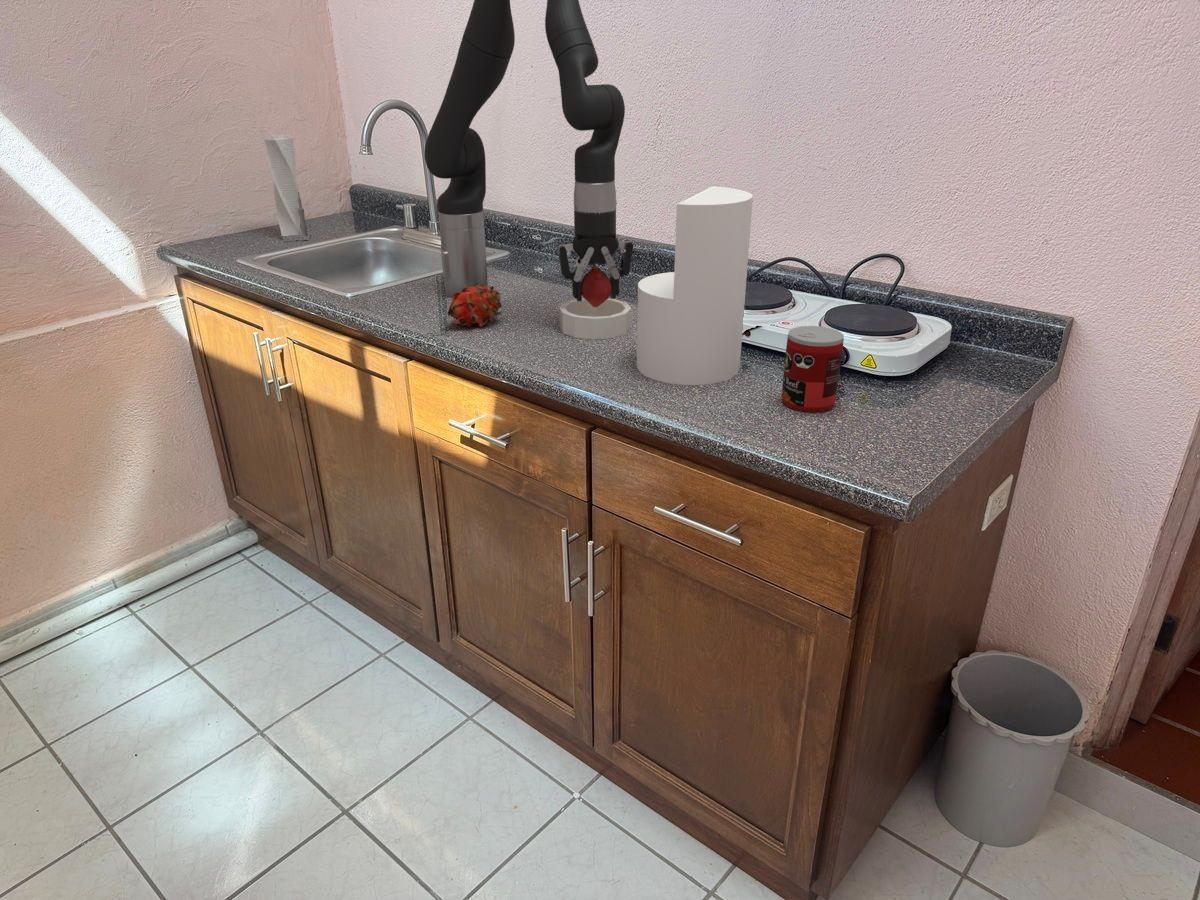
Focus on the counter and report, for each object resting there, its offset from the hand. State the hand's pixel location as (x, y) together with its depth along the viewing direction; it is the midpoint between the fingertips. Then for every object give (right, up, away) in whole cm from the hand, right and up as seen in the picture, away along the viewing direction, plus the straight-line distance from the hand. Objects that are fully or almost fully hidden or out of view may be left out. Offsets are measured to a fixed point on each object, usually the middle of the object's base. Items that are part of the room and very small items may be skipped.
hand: (595, 298), depth 157 cm
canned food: (+32, -21, -30) cm, 49 cm away
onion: (0, -2, +1) cm, 2 cm away
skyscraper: (-83, +29, +73) cm, 114 cm away
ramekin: (0, -5, +3) cm, 6 cm away
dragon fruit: (-23, -4, +5) cm, 24 cm away
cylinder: (+16, -14, -15) cm, 26 cm away
